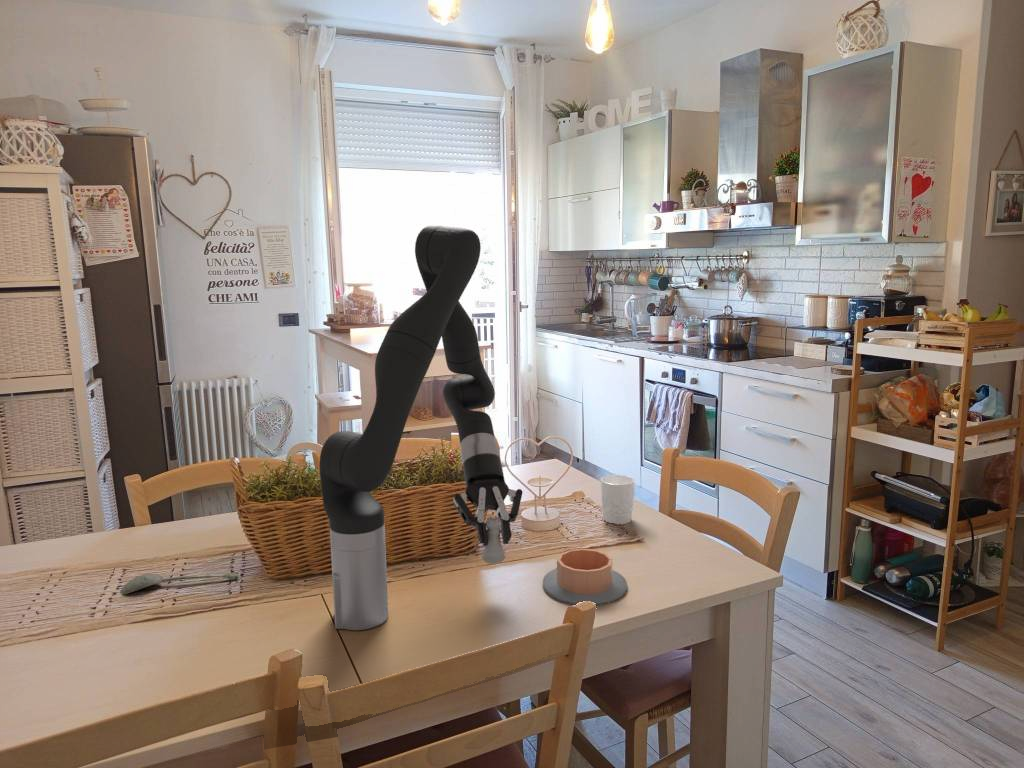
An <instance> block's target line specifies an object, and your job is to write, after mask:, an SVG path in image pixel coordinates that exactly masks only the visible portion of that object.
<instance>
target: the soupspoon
mask: <svg viewBox="0 0 1024 768" xmlns="http://www.w3.org/2000/svg"><path fill="white" fill-rule="evenodd" d="M210 578H222V579H228V580H233V581H235V580H236V581H237V582H238V581H240V578H241V572H238V574H237V573H235V574H227V573H224V574H200V575H183V576H174V577H167V578H164V577H163V576H162V575H160V574H157V573H145V574H144V573H143V574H140V575H137V576H136V577H132V578H131V579H130V580H129V581H127V582H126V583H125V584H124V585H123V586H122V587H121V589H120V595H122V596H125V595H127V594H131V593H133V592H136V591H139V590H142V589H145V588H148V587H151V586H153V585H157V584H160V583H165V582H171V581H181V580H192V579H210Z"/></svg>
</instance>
